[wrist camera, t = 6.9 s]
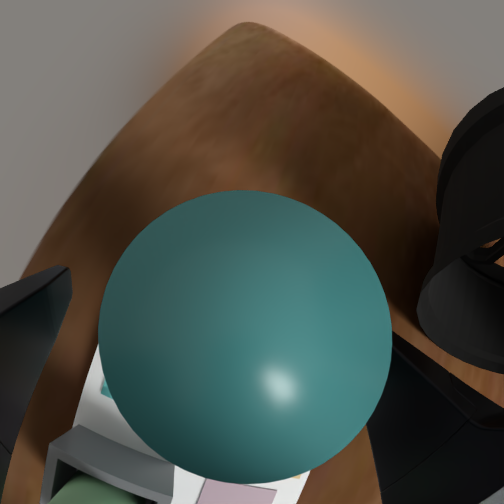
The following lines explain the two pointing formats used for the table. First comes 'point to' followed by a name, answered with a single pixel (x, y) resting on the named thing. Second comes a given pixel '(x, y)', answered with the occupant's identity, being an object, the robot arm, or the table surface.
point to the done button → (93, 492)
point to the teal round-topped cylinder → (245, 337)
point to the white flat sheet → (185, 483)
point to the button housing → (105, 466)
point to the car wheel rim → (469, 242)
